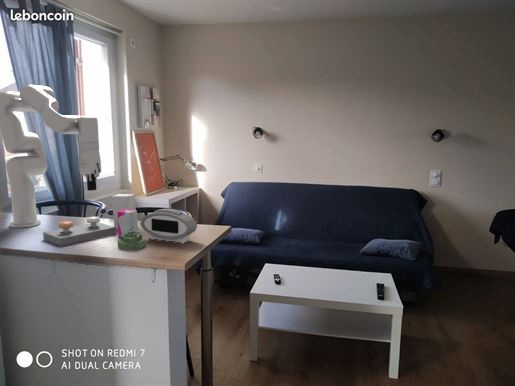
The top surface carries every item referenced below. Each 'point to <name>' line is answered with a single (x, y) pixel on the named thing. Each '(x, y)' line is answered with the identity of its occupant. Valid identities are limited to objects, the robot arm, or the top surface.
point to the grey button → (93, 221)
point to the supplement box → (127, 221)
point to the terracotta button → (66, 226)
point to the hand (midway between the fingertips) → (92, 190)
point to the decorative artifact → (131, 241)
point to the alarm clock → (169, 225)
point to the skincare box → (122, 205)
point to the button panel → (78, 234)
